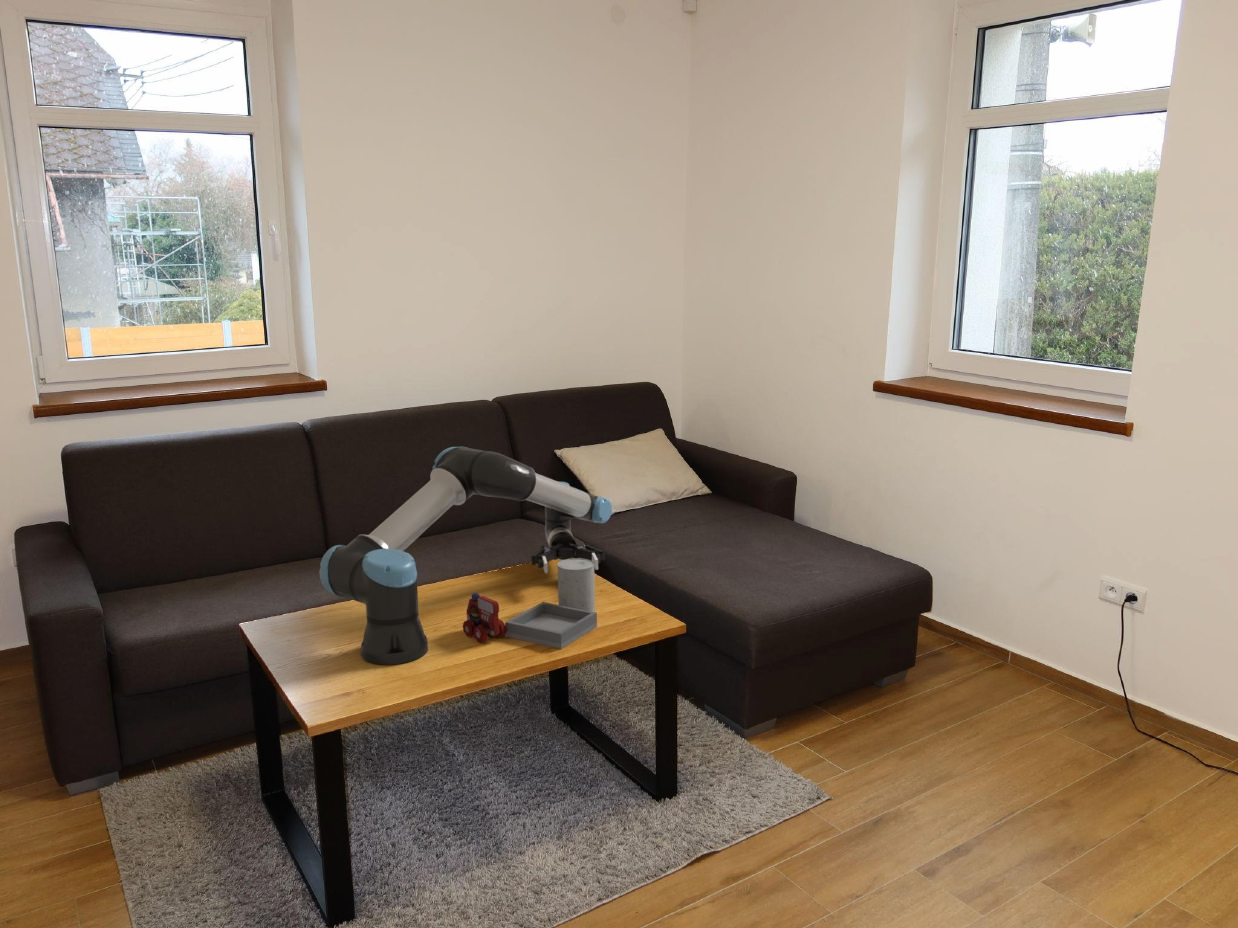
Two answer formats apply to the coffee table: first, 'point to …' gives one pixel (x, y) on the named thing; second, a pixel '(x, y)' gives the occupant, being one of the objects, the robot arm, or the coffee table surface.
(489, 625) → the toy fire truck
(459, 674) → the coffee table surface
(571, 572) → the grey speckled cylinder
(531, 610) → the tray
